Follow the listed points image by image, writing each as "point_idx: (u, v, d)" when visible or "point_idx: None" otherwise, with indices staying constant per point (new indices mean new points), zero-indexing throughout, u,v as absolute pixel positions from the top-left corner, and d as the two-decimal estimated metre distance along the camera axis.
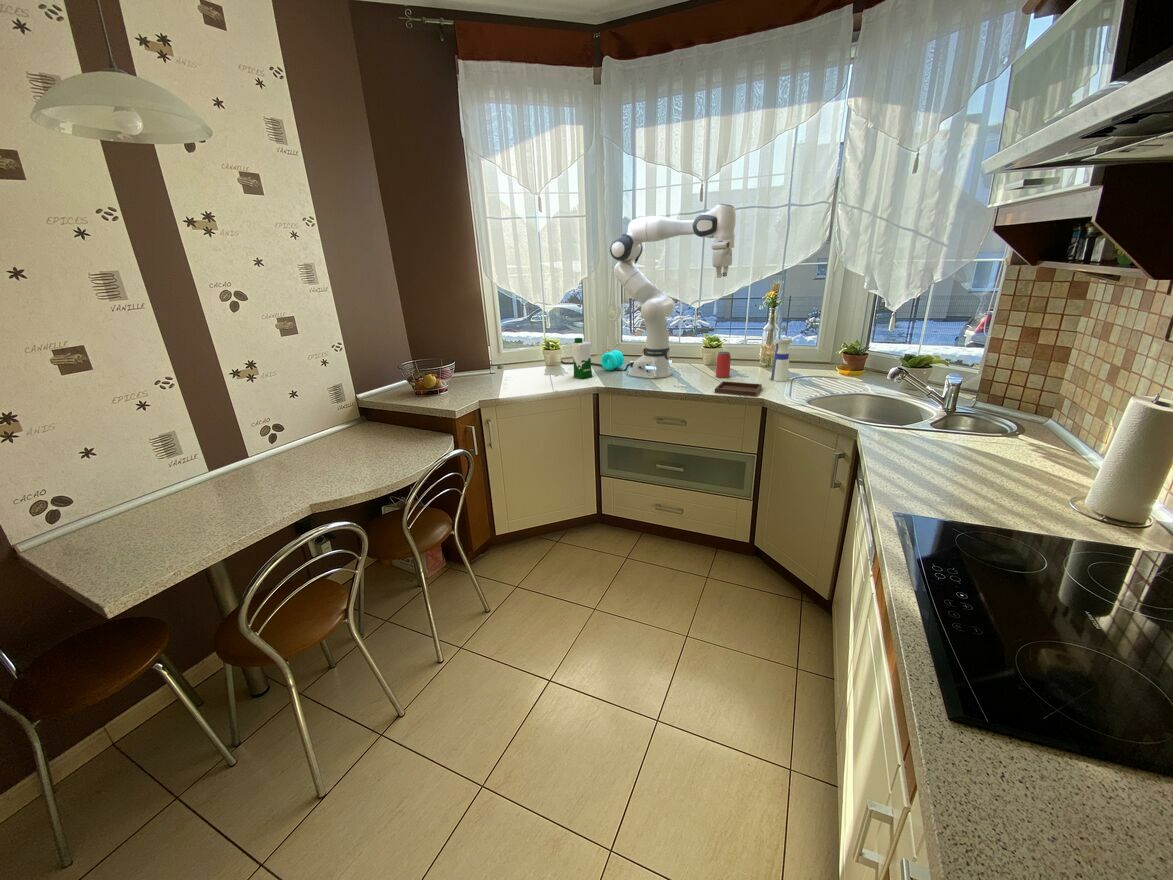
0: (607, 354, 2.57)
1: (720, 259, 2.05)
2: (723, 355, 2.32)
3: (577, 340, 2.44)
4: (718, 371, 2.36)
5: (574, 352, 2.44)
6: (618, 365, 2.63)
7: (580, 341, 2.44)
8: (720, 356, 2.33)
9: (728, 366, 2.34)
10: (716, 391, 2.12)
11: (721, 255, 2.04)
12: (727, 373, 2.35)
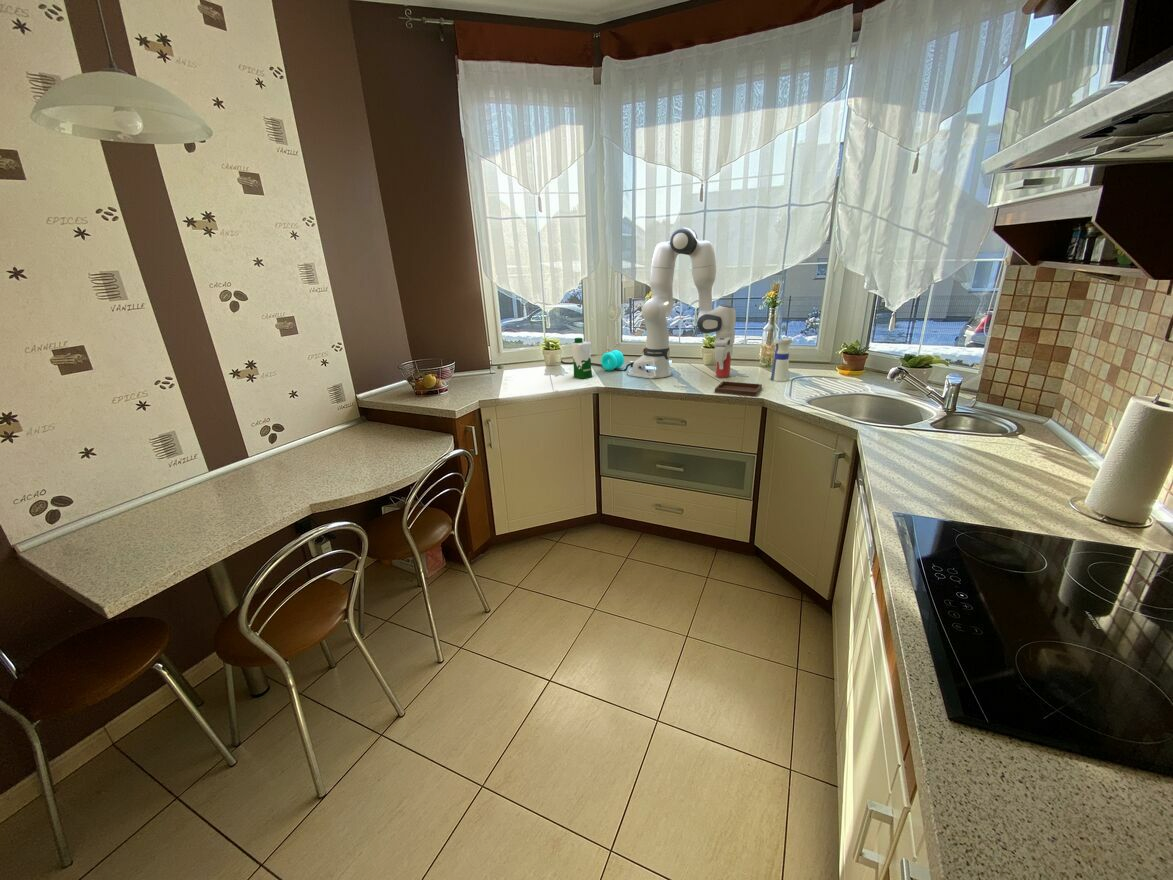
0: (607, 354, 2.57)
1: (722, 355, 2.25)
2: None
3: (577, 340, 2.44)
4: (718, 371, 2.36)
5: (574, 352, 2.44)
6: (618, 365, 2.63)
7: (580, 341, 2.44)
8: None
9: (728, 366, 2.34)
10: (716, 391, 2.12)
11: (723, 352, 2.25)
12: (727, 373, 2.35)
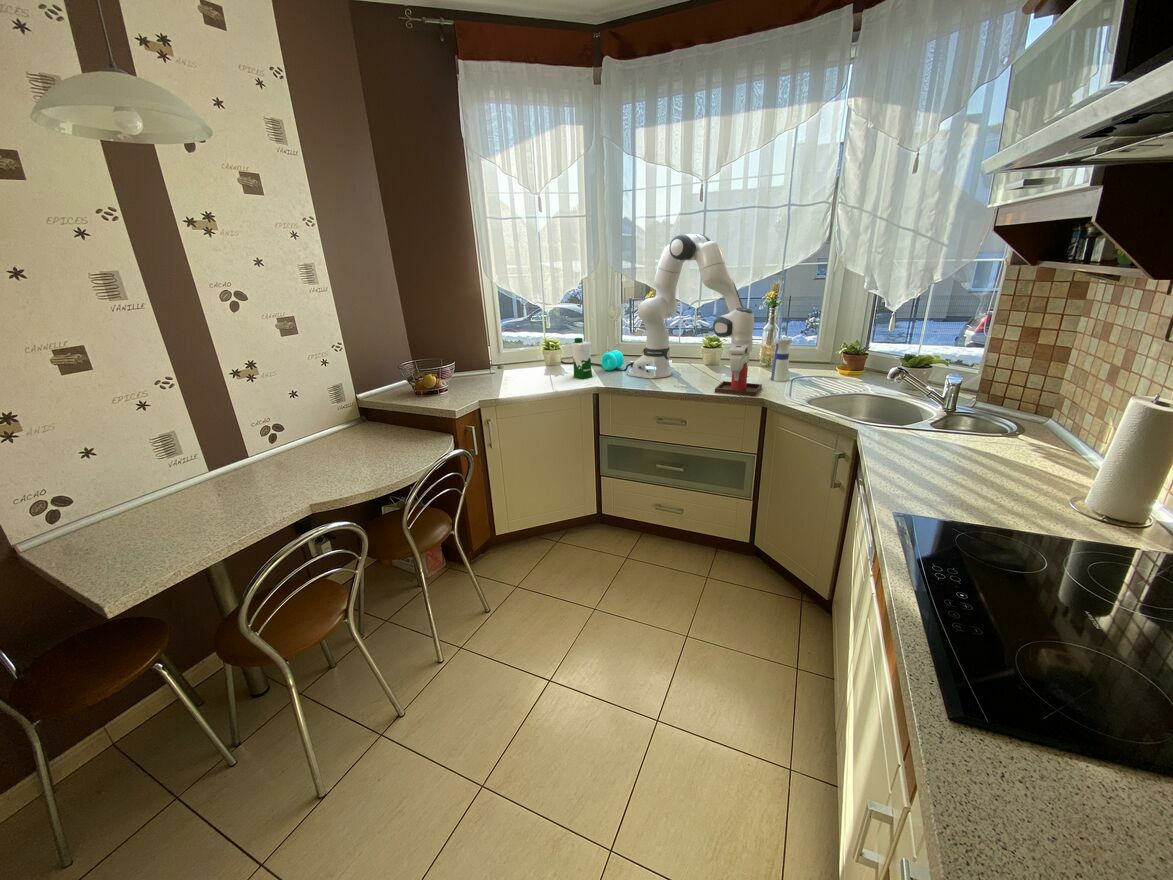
0: (607, 354, 2.57)
1: (738, 365, 2.00)
2: None
3: (577, 340, 2.44)
4: (733, 384, 2.11)
5: (574, 352, 2.44)
6: (618, 365, 2.63)
7: (580, 341, 2.44)
8: None
9: (745, 378, 2.09)
10: (716, 391, 2.12)
11: (739, 361, 2.00)
12: (744, 386, 2.10)
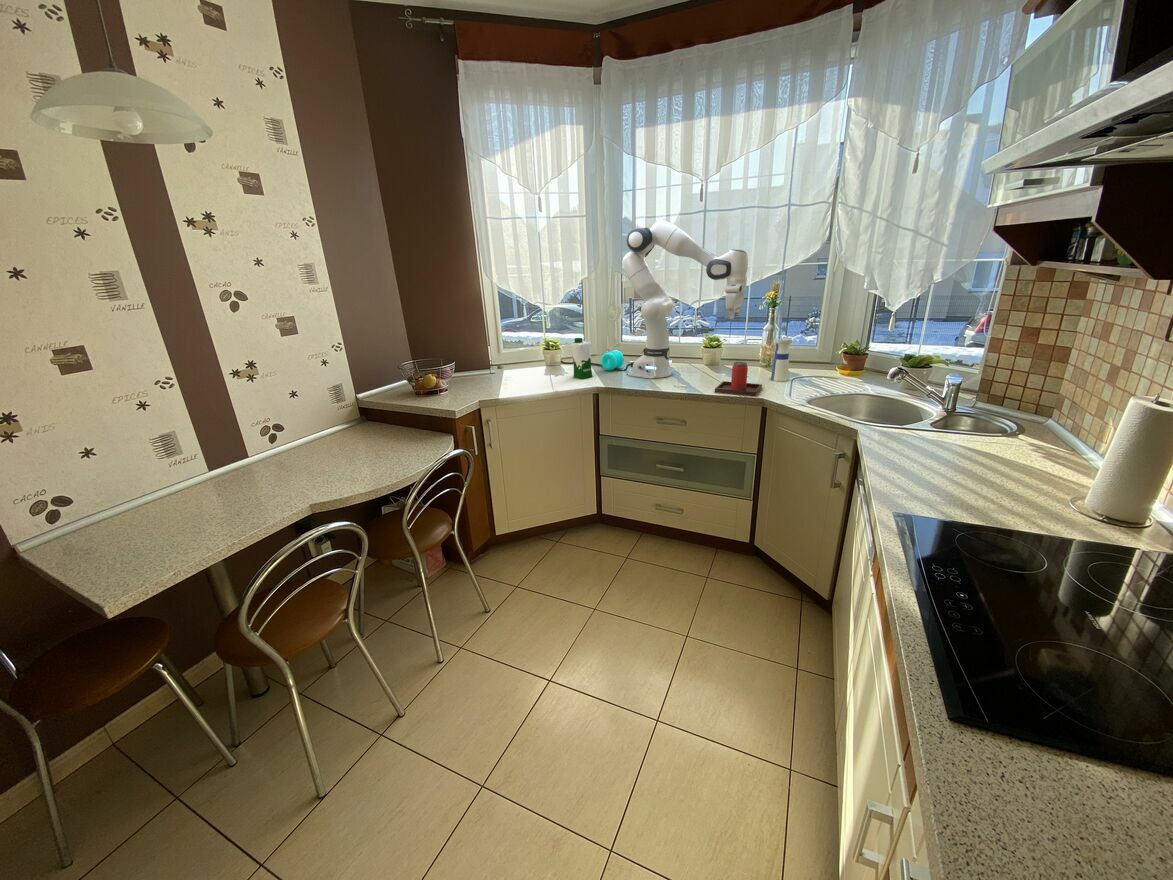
0: (607, 354, 2.57)
1: (733, 302, 2.14)
2: (739, 366, 2.07)
3: (577, 340, 2.44)
4: (733, 384, 2.11)
5: (574, 352, 2.44)
6: (618, 365, 2.63)
7: (580, 341, 2.44)
8: (736, 367, 2.08)
9: (745, 378, 2.09)
10: (716, 391, 2.12)
11: (734, 298, 2.13)
12: (744, 386, 2.10)
